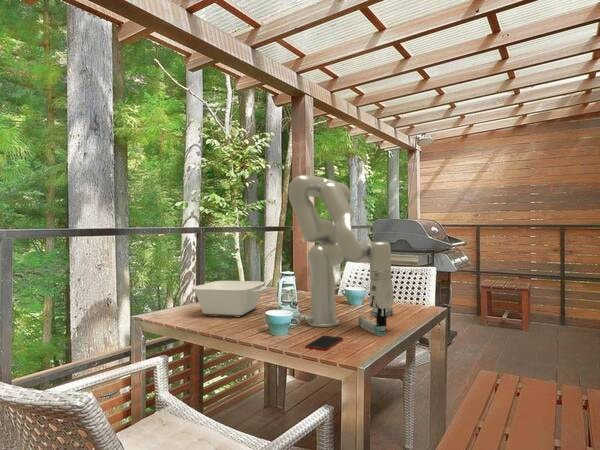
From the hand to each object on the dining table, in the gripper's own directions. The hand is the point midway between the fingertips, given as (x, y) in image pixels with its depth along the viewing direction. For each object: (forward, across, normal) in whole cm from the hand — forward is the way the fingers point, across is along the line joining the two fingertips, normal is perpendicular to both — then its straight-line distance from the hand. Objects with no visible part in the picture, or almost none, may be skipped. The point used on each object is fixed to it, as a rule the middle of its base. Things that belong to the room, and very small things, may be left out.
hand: (381, 326), depth 152 cm
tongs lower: (+2, -1, +4) cm, 5 cm away
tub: (+3, -10, +72) cm, 72 cm away
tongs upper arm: (0, -2, +3) cm, 3 cm away
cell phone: (+3, -24, +8) cm, 26 cm away
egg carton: (+3, +24, +13) cm, 27 cm away
